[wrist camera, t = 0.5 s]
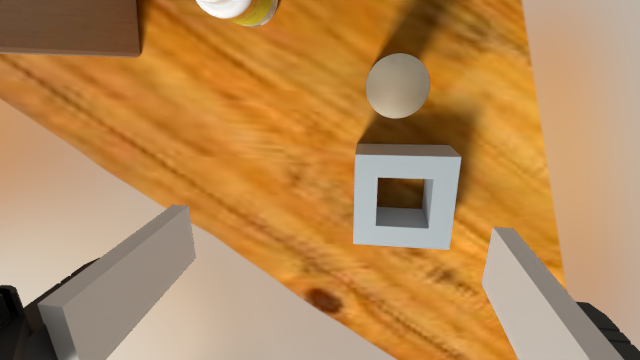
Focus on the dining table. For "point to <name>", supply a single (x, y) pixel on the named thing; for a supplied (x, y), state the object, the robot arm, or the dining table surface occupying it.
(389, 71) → the peg
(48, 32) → the wooden block
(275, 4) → the supplement bottle
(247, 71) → the dining table surface
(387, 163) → the socket block
